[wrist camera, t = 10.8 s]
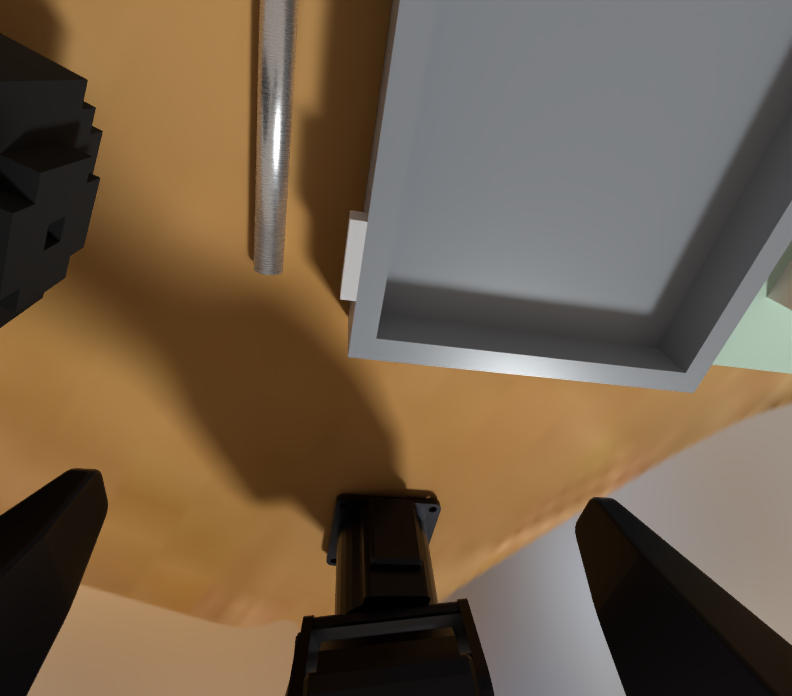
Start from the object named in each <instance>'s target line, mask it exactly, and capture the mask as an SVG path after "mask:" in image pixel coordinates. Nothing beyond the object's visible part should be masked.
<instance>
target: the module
mask: <svg viewBox="0 0 792 696" xmlns="http://www.w3.org/2000/svg"><path fill="white" fill-rule="evenodd" d="M767 298H769V299H771V300H773V301H775V302H777V303H779V304H781V305H782V306H784V307H786V308H788V309H790V310H792V259H791V260H790V262H789V263H788V265H787V267H786V268H785V270H784V271H783V273H782V274H781V276H780V277H779V279H778V280H777V282H776V283H775V285H774V286H773V288H772V289H771V291H770V292H769V294H768V295H767Z"/></svg>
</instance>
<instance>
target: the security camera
mask: <svg viewBox="0 0 792 696" xmlns="http://www.w3.org/2000/svg"><path fill="white" fill-rule="evenodd" d="M87 81H88V80H87V79H85V78H83V77H81V76H79V75H77V74H76V73H74V72H72V71H70V70H68V69H66V68H64V67H62V66H61V65H59V64H57V63H55V62H53V61H51V60H49V59H48V58H46V57H44V56H42V55H40V54H38V53H36V52H34V51H33V50H31V49H29V48H27V47H25V46H23V45H21V44H20V43H18V42H16V41H14V40H12V39H10V38H8V37H6V36H5V35H3V34H1V33H0V328H1V327H2V326H4V325H5V324H7V323H8V322H9V321H11V320H12V319H14V318H15V317H16V316H18V315H19V314H20V313H22V312H23V311H25V310H26V309H27V308H29V307H30V306H32V305H33V304H34V303H36V302H37V301H38V300H40V299H41V298H43V294H44V292H45V291H47V290H48V289H50V288H51V287H53V286H54V285H55V284H57V283H58V282H60V281H61V280H62V279H64V278H65V276H66V272H67V267H68V263H69V258H70V256H71V255H72V254H74V253H75V252H77V251H78V250H80V249H81V248H83V247H84V243H85V239H86V235H87V231H88V227H89V222H90V218H91V214H92V210H93V206H94V202H95V197H96V193H97V189H98V185H99V181H100V177H97V176H95V175H93V171H94V167H95V163H96V158H97V154H98V150H99V145H100V141H101V137H102V132H103V131H101V130H99V129H97V128H95V127H93V126H92V123H93V118H94V114H95V109H96V107H94V106H92V105H90V104H88V103H86V102H84V96H85V91H86V86H87Z"/></svg>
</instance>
